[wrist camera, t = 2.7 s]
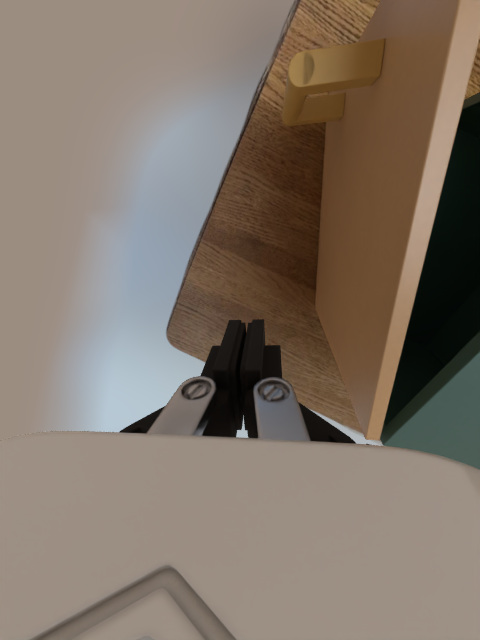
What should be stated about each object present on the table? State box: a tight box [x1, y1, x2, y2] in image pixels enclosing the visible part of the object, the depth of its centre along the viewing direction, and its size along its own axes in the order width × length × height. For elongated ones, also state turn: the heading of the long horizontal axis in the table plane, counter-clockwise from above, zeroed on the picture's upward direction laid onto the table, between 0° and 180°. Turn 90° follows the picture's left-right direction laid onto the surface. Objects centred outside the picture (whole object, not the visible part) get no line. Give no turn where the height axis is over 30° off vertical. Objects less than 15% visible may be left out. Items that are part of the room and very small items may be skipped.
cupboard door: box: [282, 0, 480, 440], centre depth 23 cm, size 6×26×24 cm, turn 4°
